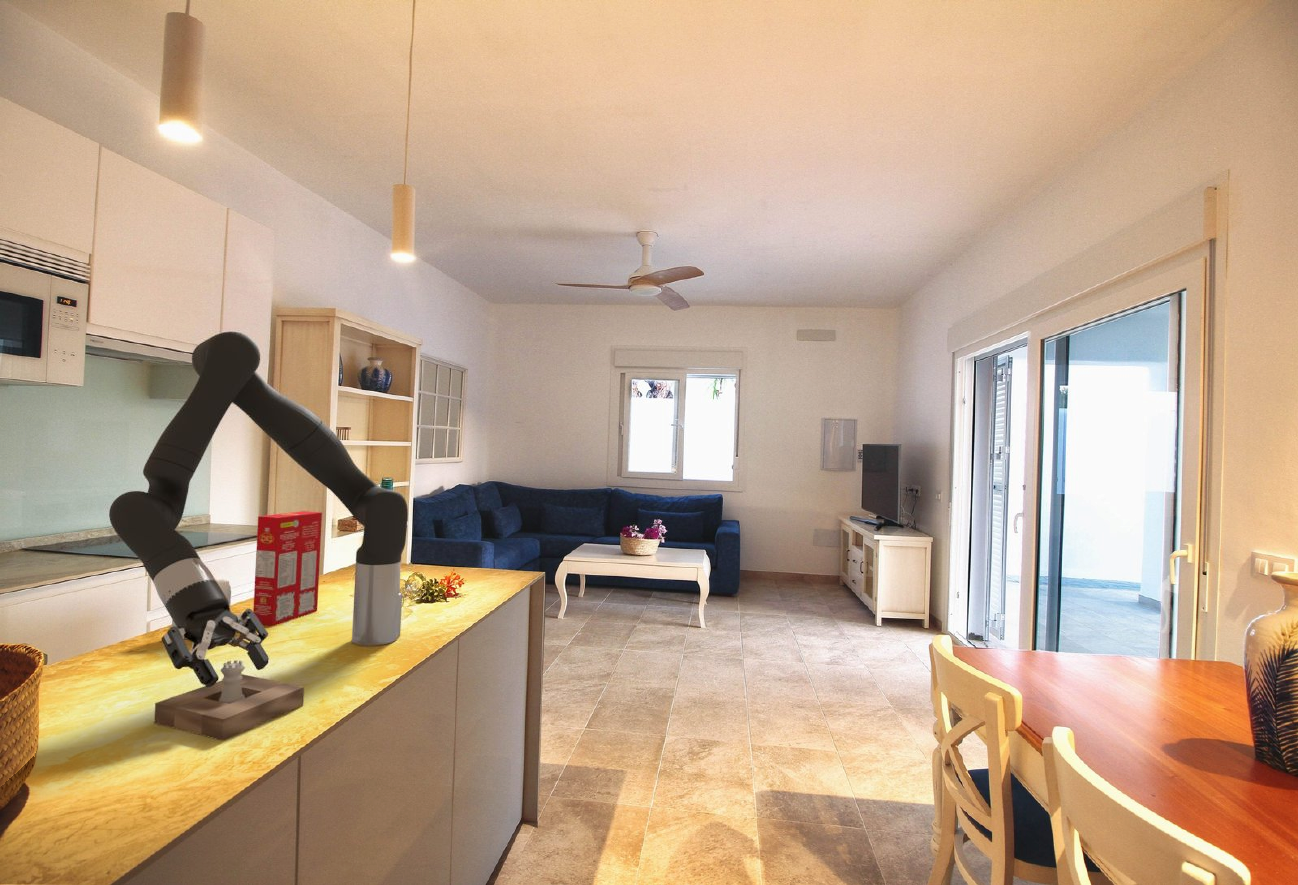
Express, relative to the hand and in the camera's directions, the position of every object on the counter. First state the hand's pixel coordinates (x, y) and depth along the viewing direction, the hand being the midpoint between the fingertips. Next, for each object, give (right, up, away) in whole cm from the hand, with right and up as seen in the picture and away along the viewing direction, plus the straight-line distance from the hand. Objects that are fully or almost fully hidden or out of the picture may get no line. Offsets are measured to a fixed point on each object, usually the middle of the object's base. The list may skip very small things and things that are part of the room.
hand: (239, 674), depth 101 cm
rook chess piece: (-2, -6, 0) cm, 7 cm away
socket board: (-1, -6, 0) cm, 6 cm away
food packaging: (-24, -6, +55) cm, 61 cm away
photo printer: (-33, -6, +38) cm, 51 cm away
